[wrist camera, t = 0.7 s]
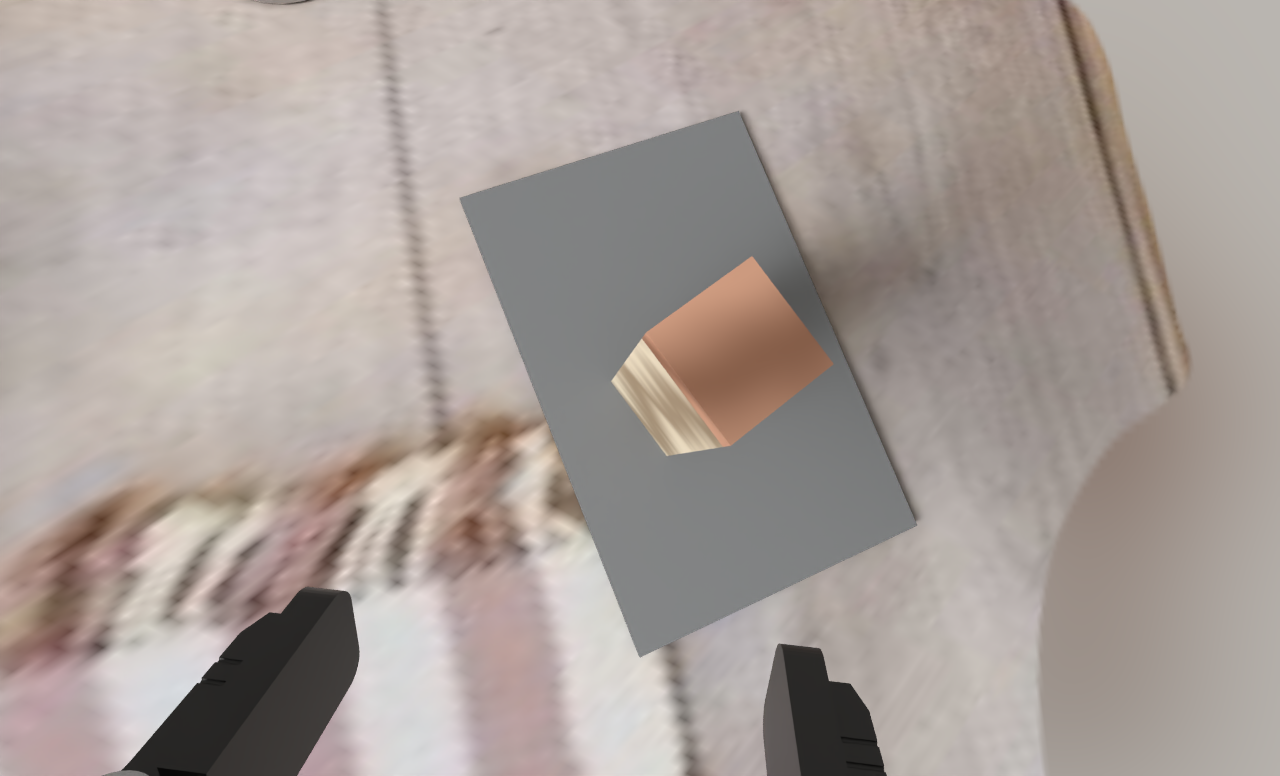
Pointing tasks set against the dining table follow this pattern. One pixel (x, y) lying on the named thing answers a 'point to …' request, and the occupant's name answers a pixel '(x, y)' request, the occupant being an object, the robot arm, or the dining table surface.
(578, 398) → the rubber mat
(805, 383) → the birch block
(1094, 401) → the dining table surface
